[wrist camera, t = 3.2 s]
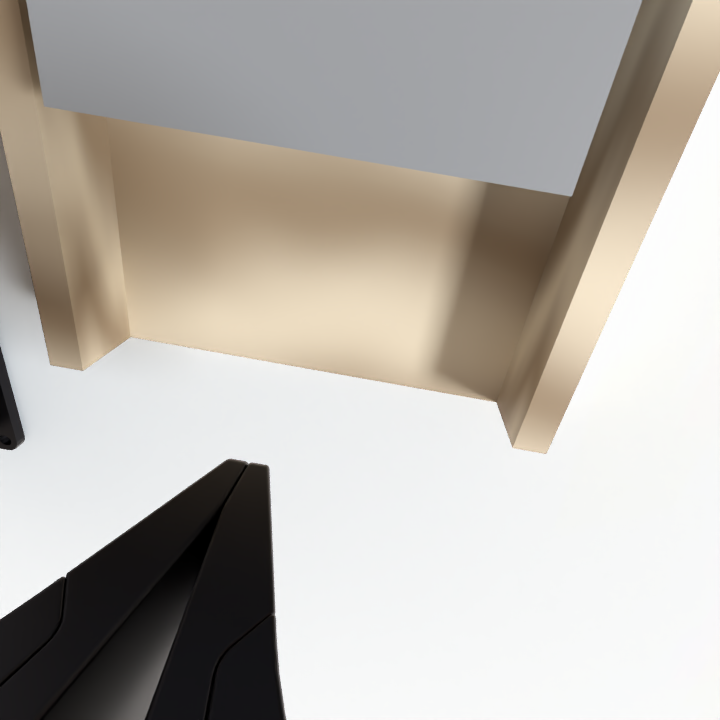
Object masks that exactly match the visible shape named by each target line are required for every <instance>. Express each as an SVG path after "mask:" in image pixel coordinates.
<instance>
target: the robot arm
mask: <svg viewBox="0 0 720 720" xmlns="http://www.w3.org/2000/svg"><path fill="white" fill-rule="evenodd" d="M24 440H25V436H24V432H23V429H22V425H21V421H20V418H19V414H18V410H17V406H16V403H15V399H14V395H13V392H12V388H11V384H10V381H9V377H8V373H7V370H6V366H5V362H4V359H3V355H2V351H1V347H0V448H1V449H6V450H13V449H16V448H17V447H18V446H19V445H21V444H22V443H23V442H24ZM0 720H286V716H285V709H284V702H283V696H282V689H281V682H280V675H279V663H278V650H277V636H276V617H275V593H274V569H273V545H272V521H271V497H270V473H269V467H268V466H267V465H263V464H258V463H250V464H248V463H247V462H246V461H241V460H235V459H228V460H226V461H224V462H223V463H221V464H220V465H219V466H217V467H216V468H214V469H213V470H212V471H210V472H209V473H207V474H206V475H205V476H203V477H202V478H200V479H199V480H197V481H196V482H195V483H193V484H192V485H190V486H189V487H188V488H186V489H185V490H183V491H182V492H181V493H179V494H178V495H176V496H175V497H174V498H172V499H171V500H169V501H168V502H167V503H165V504H164V505H162V506H161V507H160V508H158V509H157V510H155V511H154V512H153V513H151V514H150V515H148V516H147V517H146V518H144V519H143V520H141V521H140V522H138V523H137V524H136V525H134V526H133V527H131V528H130V529H129V530H127V531H126V532H124V533H123V534H122V535H120V536H119V537H117V538H116V539H115V540H113V541H112V542H110V543H109V544H108V545H106V546H105V547H103V548H102V549H101V550H99V551H98V552H96V553H95V554H94V555H92V556H91V557H89V558H88V559H86V560H85V561H84V562H82V563H81V564H79V565H78V566H77V567H75V568H74V569H72V570H71V571H70V572H68V573H67V575H66V578H65V577H61V578H59V579H58V580H57V581H55V582H54V583H52V584H51V585H50V586H48V587H47V588H45V589H44V590H43V591H41V592H40V593H38V594H37V595H35V596H34V597H33V598H31V599H30V600H28V601H27V602H25V603H24V604H22V605H21V606H19V607H18V608H16V609H15V610H13V611H12V612H11V613H9V614H8V615H6V616H5V617H3V618H2V619H0Z"/></svg>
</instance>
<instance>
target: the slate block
mask: <svg viewBox="0 0 720 720" xmlns="http://www.w3.org/2000/svg"><path fill="white" fill-rule="evenodd" d="M26 2H27V8H28V14H29V20H30V26H31V32H32V38H33V44H34V50H35V56H36V62H37V68H38V74H39V80H40V85H41V91H42V97H43V103H44V107H50V108H56V109H62V110H68V111H73V112H79V113H85V114H91V115H97V116H103V117H109V118H114V119H120V120H126V121H132V122H138V123H144V124H150V125H155V126H161V127H167V128H173V129H179V130H185V131H190V132H196V133H202V134H208V135H214V136H220V137H226V138H231V139H237V140H243V141H249V142H255V143H261V144H267V145H272V146H278V147H284V148H290V149H296V150H302V151H308V152H313V153H319V154H325V155H331V156H337V157H343V158H349V159H354V160H360V161H366V162H372V163H378V164H384V165H390V166H395V167H401V168H407V169H413V170H419V171H425V172H431V173H436V174H442V175H448V176H454V177H460V178H466V179H472V180H477V181H483V182H489V183H495V184H501V185H507V186H513V187H518V188H524V189H530V190H536V191H542V192H548V193H554V194H559V195H565V196H571V197H572V195H573V192H574V189H575V186H576V184H577V181H578V178H579V175H580V173H581V170H582V167H583V164H584V161H585V159H586V156H587V153H588V150H589V147H590V145H591V142H592V139H593V136H594V134H595V131H596V128H597V125H598V122H599V120H600V117H601V114H602V111H603V109H604V106H605V103H606V100H607V97H608V95H609V92H610V89H611V86H612V84H613V81H614V78H615V75H616V72H617V70H618V67H619V64H620V61H621V58H622V56H623V53H624V50H625V47H626V45H627V42H628V39H629V36H630V33H631V31H632V28H633V25H634V22H635V20H636V17H637V14H638V11H639V8H640V6H641V3H642V0H26Z"/></svg>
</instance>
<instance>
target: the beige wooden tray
mask: <svg viewBox="0 0 720 720" xmlns="http://www.w3.org/2000/svg"><path fill="white" fill-rule="evenodd" d="M719 72H720V0H642V3H641V6H640V8H639V11H638V14H637V17H636V20H635V22H634V25H633V28H632V31H631V33H630V36H629V39H628V42H627V45H626V47H625V50H624V53H623V56H622V58H621V61H620V64H619V67H618V70H617V72H616V75H615V78H614V81H613V84H612V86H611V89H610V92H609V95H608V97H607V100H606V103H605V106H604V109H603V111H602V114H601V117H600V120H599V122H598V125H597V128H596V131H595V134H594V136H593V139H592V142H591V145H590V147H589V150H588V153H587V156H586V159H585V161H584V164H583V167H582V170H581V173H580V175H579V178H578V181H577V184H576V186H575V189H574V192H573V195H572V197H571V196H565V195H559V194H554V193H548V192H542V191H536V190H530V189H524V188H518V187H513V186H507V185H501V184H495V183H489V182H483V181H477V180H472V179H466V178H460V177H454V176H448V175H442V174H436V173H431V172H425V171H419V170H413V169H407V168H401V167H395V166H390V165H384V164H378V163H372V162H366V161H360V160H354V159H349V158H343V157H337V156H331V155H325V154H319V153H313V152H308V151H302V150H296V149H290V148H284V147H278V146H272V145H267V144H261V143H255V142H249V141H243V140H237V139H231V138H226V137H220V136H214V135H208V134H202V133H196V132H190V131H185V130H179V129H173V128H167V127H161V126H155V125H150V124H144V123H138V122H132V121H126V120H120V119H114V118H109V117H103V116H97V115H91V114H85V113H79V112H73V111H68V110H62V109H56V108H50V107H44V103H43V97H42V91H41V85H40V80H39V74H38V68H37V62H36V56H35V50H34V44H33V38H32V32H31V26H30V20H29V14H28V8H27V2H26V0H0V132H1V137H2V142H3V146H4V151H5V156H6V160H7V165H8V170H9V174H10V179H11V184H12V188H13V193H14V198H15V202H16V207H17V212H18V216H19V221H20V226H21V230H22V235H23V239H24V244H25V249H26V253H27V258H28V263H29V267H30V272H31V277H32V281H33V286H34V291H35V295H36V300H37V305H38V309H39V314H40V319H41V323H42V328H43V333H44V337H45V342H46V347H47V351H48V356H49V361H50V365H53V366H59V367H64V368H70V369H75V370H81V371H83V370H85V369H86V368H88V367H89V366H91V365H92V364H93V363H95V362H96V361H98V360H99V359H100V358H102V357H103V356H105V355H106V354H107V353H109V352H110V351H112V350H113V349H114V348H116V347H117V346H119V345H120V344H121V343H123V342H124V341H126V340H127V339H128V338H130V337H133V338H139V339H145V340H150V341H156V342H161V343H167V344H173V345H178V346H184V347H189V348H195V349H201V350H206V351H212V352H218V353H223V354H229V355H234V356H240V357H246V358H251V359H257V360H262V361H268V362H274V363H279V364H285V365H291V366H296V367H302V368H307V369H313V370H319V371H324V372H330V373H336V374H341V375H347V376H352V377H358V378H364V379H369V380H375V381H380V382H386V383H392V384H397V385H403V386H409V387H414V388H420V389H425V390H431V391H437V392H442V393H448V394H453V395H459V396H465V397H470V398H476V399H482V400H487V401H493V402H497V405H498V408H499V411H500V413H501V416H502V419H503V422H504V425H505V428H506V431H507V433H508V436H509V439H510V442H511V445H512V448H516V449H521V450H527V451H532V452H538V453H544V454H546V453H547V451H548V449H549V447H550V444H551V442H552V440H553V438H554V436H555V433H556V431H557V429H558V427H559V425H560V422H561V420H562V418H563V416H564V414H565V411H566V409H567V407H568V405H569V403H570V400H571V398H572V396H573V394H574V392H575V389H576V387H577V385H578V383H579V380H580V378H581V376H582V374H583V372H584V369H585V367H586V365H587V363H588V361H589V358H590V356H591V354H592V352H593V350H594V347H595V345H596V343H597V341H598V339H599V336H600V334H601V332H602V330H603V328H604V325H605V323H606V321H607V319H608V317H609V314H610V312H611V310H612V308H613V305H614V303H615V301H616V299H617V297H618V294H619V292H620V290H621V288H622V286H623V283H624V281H625V279H626V277H627V275H628V272H629V270H630V268H631V266H632V264H633V261H634V259H635V257H636V255H637V253H638V250H639V248H640V246H641V244H642V241H643V239H644V237H645V235H646V233H647V230H648V228H649V226H650V224H651V222H652V219H653V217H654V215H655V213H656V211H657V208H658V206H659V204H660V202H661V200H662V197H663V195H664V193H665V191H666V189H667V186H668V184H669V182H670V180H671V177H672V175H673V173H674V171H675V169H676V166H677V164H678V162H679V160H680V158H681V155H682V153H683V151H684V149H685V147H686V144H687V142H688V140H689V138H690V136H691V133H692V131H693V129H694V127H695V125H696V122H697V120H698V118H699V116H700V114H701V111H702V109H703V107H704V105H705V102H706V100H707V98H708V96H709V94H710V91H711V89H712V87H713V85H714V83H715V80H716V78H717V76H718V74H719Z"/></svg>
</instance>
